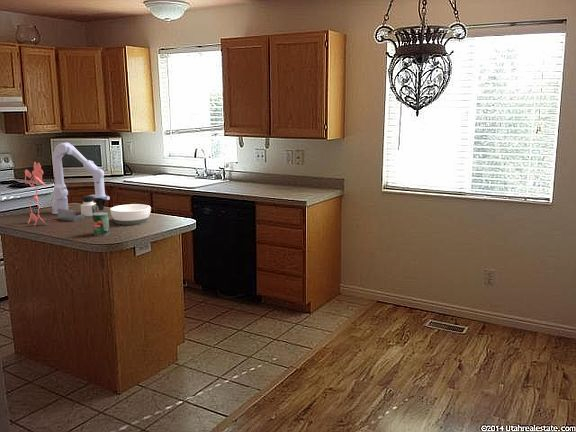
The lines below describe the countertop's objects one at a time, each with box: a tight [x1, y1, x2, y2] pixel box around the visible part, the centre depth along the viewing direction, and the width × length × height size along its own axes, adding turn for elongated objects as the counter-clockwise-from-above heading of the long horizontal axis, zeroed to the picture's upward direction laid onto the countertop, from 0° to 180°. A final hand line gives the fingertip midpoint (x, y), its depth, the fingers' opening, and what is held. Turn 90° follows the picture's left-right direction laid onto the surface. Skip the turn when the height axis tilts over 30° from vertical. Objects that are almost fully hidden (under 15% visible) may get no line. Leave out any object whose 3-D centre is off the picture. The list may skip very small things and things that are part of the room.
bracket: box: [57, 209, 86, 223], centre depth 314 cm, size 14×9×6 cm, turn 60°
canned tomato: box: [92, 211, 111, 237], centre depth 278 cm, size 8×8×11 cm
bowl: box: [109, 203, 152, 226], centre depth 307 cm, size 22×22×8 cm
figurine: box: [24, 161, 56, 227], centre depth 302 cm, size 15×26×35 cm, turn 47°
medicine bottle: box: [80, 195, 98, 217], centre depth 324 cm, size 7×7×12 cm
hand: (101, 210), depth 333 cm, fingers closed
